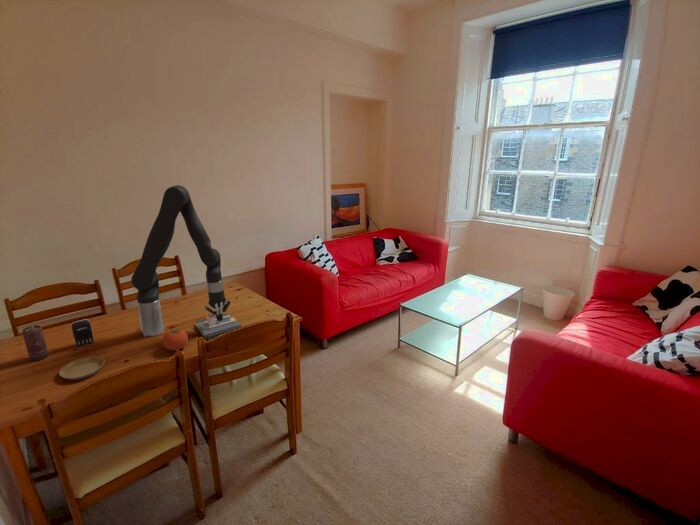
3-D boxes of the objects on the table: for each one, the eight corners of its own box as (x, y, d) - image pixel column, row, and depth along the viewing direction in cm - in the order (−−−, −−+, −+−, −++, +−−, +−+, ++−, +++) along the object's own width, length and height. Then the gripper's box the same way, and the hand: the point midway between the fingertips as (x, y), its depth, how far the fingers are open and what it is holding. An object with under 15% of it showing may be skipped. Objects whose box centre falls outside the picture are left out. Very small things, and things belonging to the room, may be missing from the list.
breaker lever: (210, 327, 174) (208, 317, 172) (207, 324, 177) (206, 314, 175) (216, 325, 176) (215, 316, 174) (213, 322, 178) (212, 313, 177)
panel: (205, 338, 168) (204, 332, 167) (195, 326, 179) (194, 321, 178) (241, 328, 179) (240, 322, 178) (230, 317, 190) (229, 312, 189)
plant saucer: (79, 386, 133) (78, 380, 132) (50, 379, 136) (49, 373, 135) (114, 365, 146) (113, 359, 145) (87, 359, 150) (86, 353, 149)
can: (46, 351, 154) (39, 323, 149) (50, 357, 150) (42, 328, 146) (28, 357, 149) (20, 328, 145) (31, 363, 145) (23, 333, 141)
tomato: (172, 357, 152) (169, 337, 149) (159, 350, 157) (156, 330, 154) (193, 347, 160) (191, 327, 157) (180, 340, 165) (177, 321, 162)
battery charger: (76, 348, 157) (70, 325, 154) (75, 344, 160) (70, 322, 156) (95, 343, 162) (90, 320, 158) (94, 339, 164) (89, 317, 161)
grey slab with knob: (208, 340, 167) (208, 336, 166) (196, 324, 181) (195, 321, 180) (241, 330, 176) (240, 327, 176) (226, 316, 191) (226, 313, 190)
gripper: (204, 294, 166) (209, 327, 172) (231, 288, 174) (235, 319, 179) (199, 290, 172) (204, 321, 177) (226, 283, 179) (229, 314, 185)
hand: (220, 320), depth 178 cm, fingers closed
